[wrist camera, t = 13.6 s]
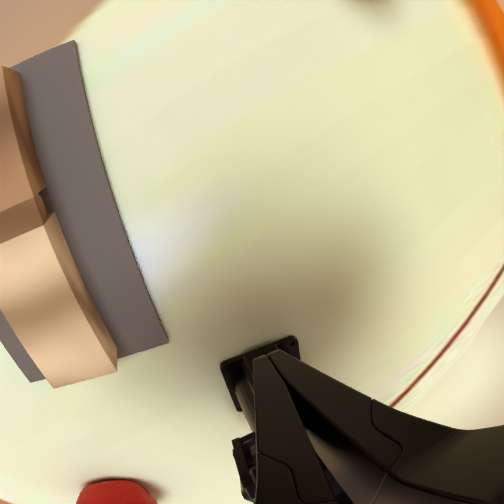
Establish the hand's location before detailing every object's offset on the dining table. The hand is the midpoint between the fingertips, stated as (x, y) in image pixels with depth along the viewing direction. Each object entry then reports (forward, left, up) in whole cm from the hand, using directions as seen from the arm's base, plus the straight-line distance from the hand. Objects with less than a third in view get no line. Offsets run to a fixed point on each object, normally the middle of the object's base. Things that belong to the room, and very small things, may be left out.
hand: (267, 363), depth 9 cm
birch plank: (-1, +10, -12) cm, 15 cm away
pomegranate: (-27, +19, -12) cm, 35 cm away
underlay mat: (+3, +10, -12) cm, 16 cm away
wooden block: (+9, +10, -12) cm, 18 cm away
